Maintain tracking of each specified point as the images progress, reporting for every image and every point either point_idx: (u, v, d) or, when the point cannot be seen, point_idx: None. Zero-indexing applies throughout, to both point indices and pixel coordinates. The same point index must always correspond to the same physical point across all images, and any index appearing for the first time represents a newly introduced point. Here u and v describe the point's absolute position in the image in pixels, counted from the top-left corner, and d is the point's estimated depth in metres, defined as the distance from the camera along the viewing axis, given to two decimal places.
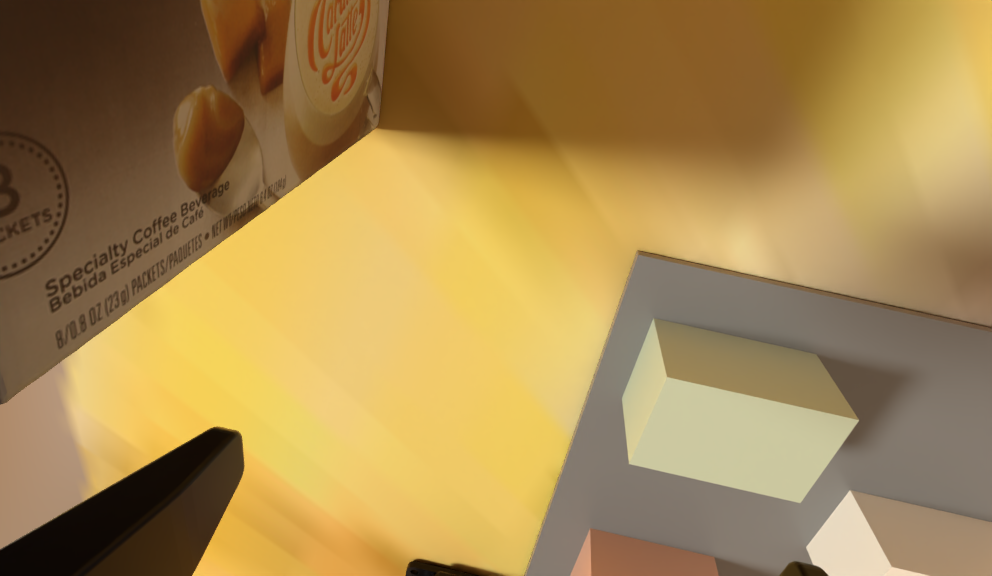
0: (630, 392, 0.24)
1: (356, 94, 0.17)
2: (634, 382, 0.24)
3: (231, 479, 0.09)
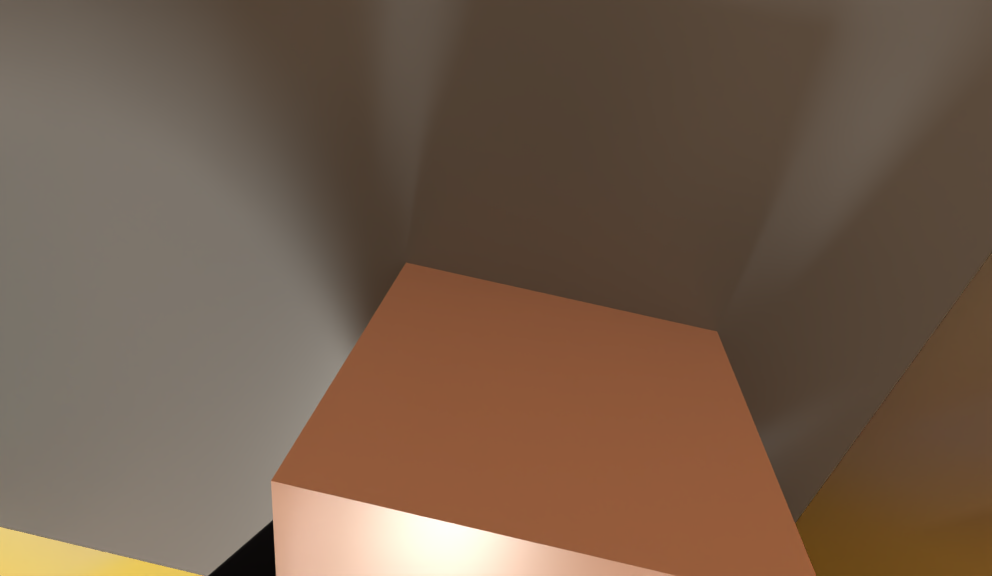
0: None
1: None
2: None
3: None
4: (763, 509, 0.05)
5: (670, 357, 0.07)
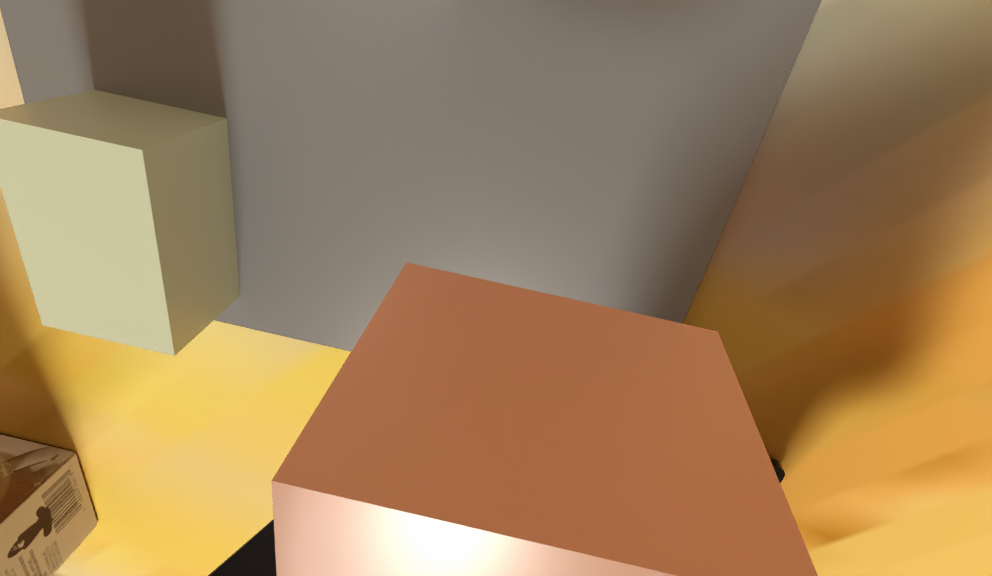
0: None
1: None
2: None
3: None
4: (764, 509, 0.05)
5: (671, 357, 0.07)
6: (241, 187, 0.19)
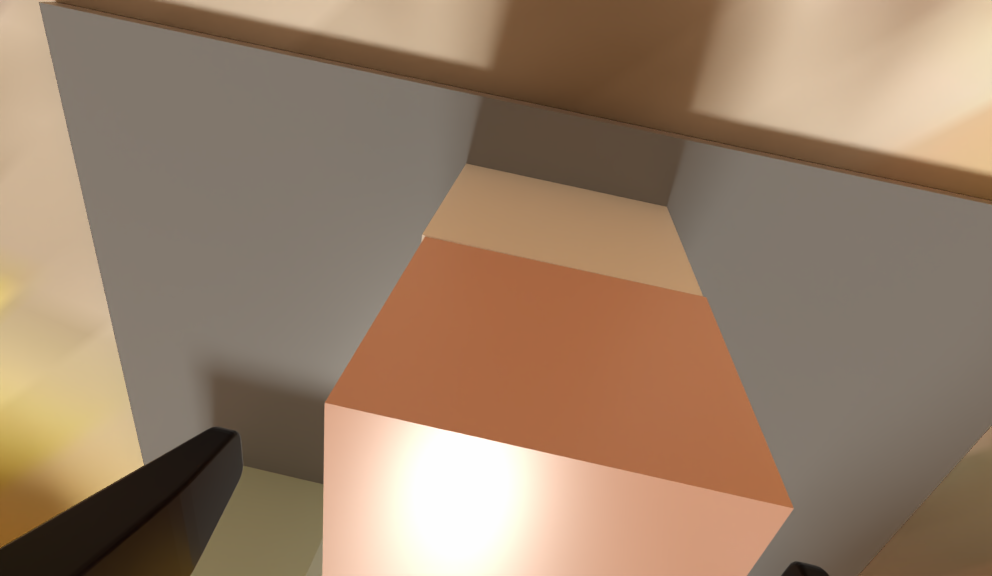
0: None
1: None
2: None
3: (230, 479, 0.09)
4: (740, 434, 0.06)
5: (662, 317, 0.08)
6: None
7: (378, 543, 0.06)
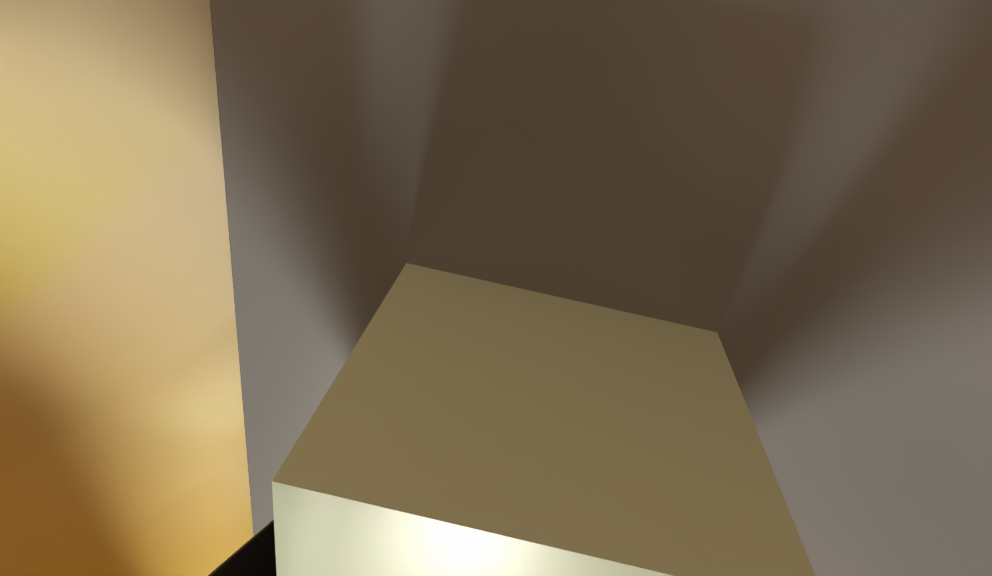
0: None
1: None
2: None
3: None
4: None
5: None
6: None
7: None
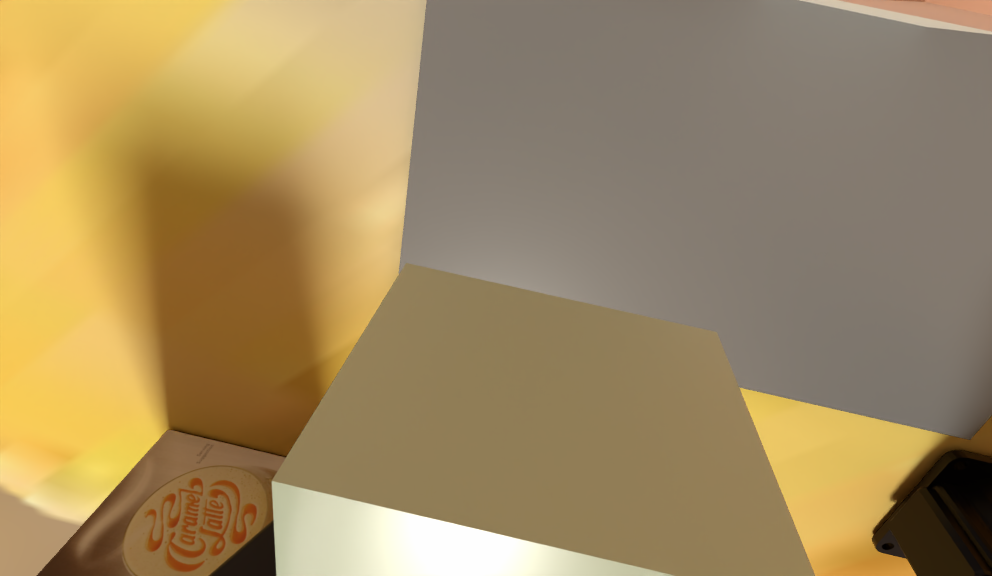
0: None
1: (268, 505, 0.26)
2: None
3: None
4: None
5: None
6: (619, 213, 0.19)
7: None
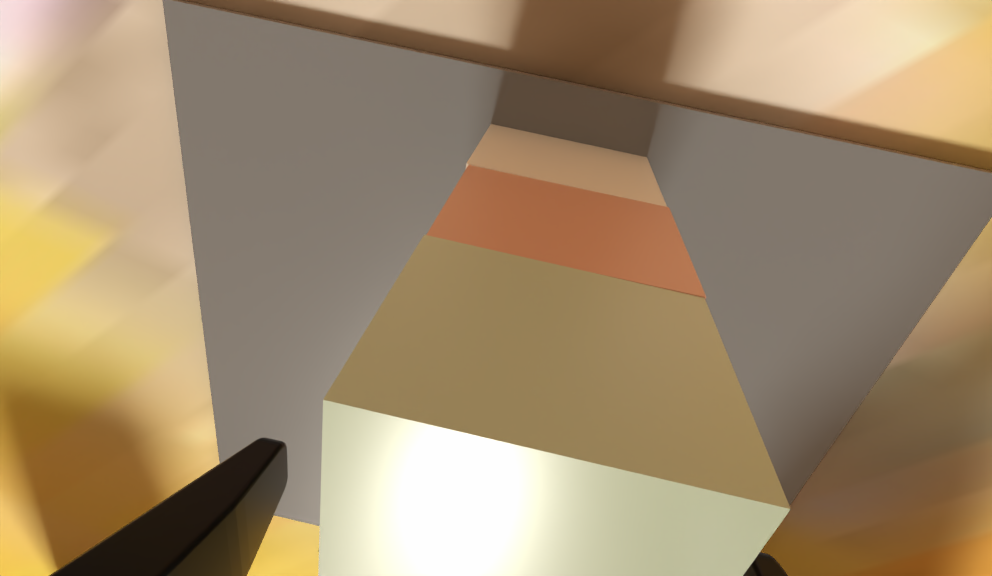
0: None
1: None
2: None
3: (277, 490, 0.09)
4: (680, 267, 0.09)
5: (636, 215, 0.11)
6: None
7: None
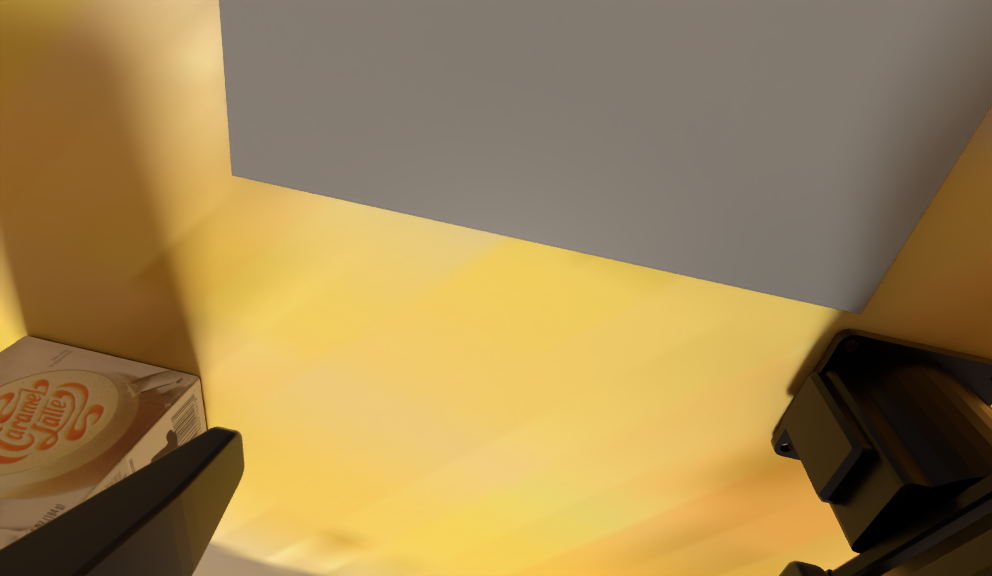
0: None
1: (118, 407, 0.24)
2: None
3: (231, 479, 0.09)
4: None
5: None
6: (450, 42, 0.17)
7: None
